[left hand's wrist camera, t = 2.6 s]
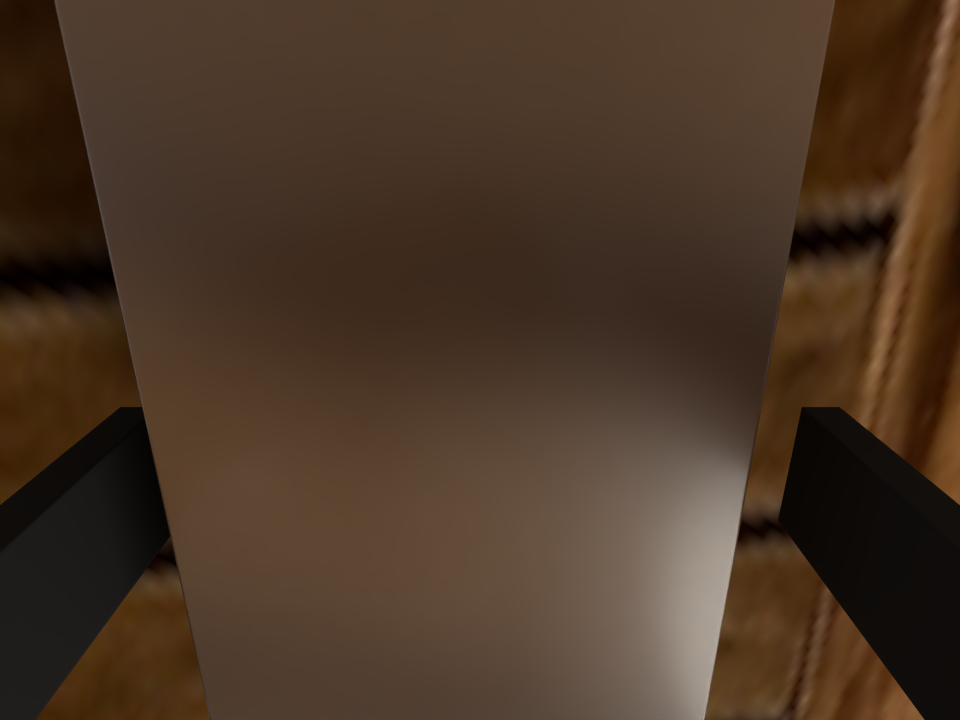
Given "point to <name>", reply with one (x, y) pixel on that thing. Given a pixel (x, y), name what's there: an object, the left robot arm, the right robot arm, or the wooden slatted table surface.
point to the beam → (450, 332)
